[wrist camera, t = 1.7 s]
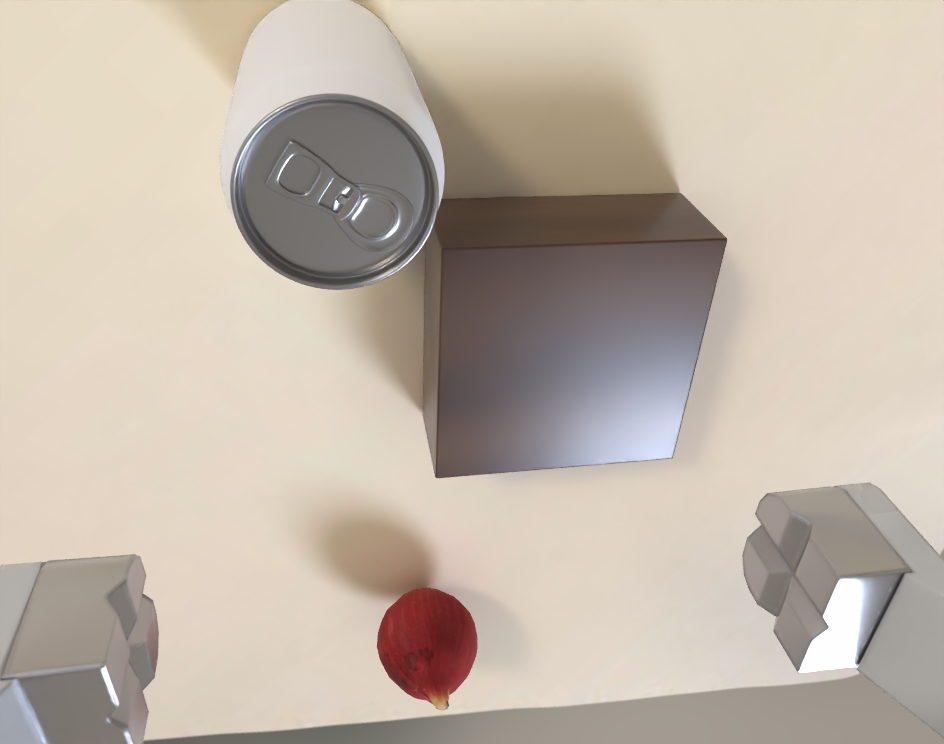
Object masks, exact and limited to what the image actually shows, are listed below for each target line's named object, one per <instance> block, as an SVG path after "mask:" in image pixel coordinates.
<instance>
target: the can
mask: <svg viewBox="0 0 944 744" xmlns="http://www.w3.org/2000/svg"><path fill="white" fill-rule="evenodd" d="M220 178H221V185H222V190H223V194H224V197H225V200H226V203H227V206H228V208H229V210H230V213H231V215H232V216H233V218H234V220H235V222H236V223H237V225H238V228H239V230H240V232H241V234H242V236H243V237H244V239H245V241H246V242H247V244H248V245H249V246H250V248H251V249H252V250H253V251H254V253H255V254H256V255H257V256H258V257H259V258H260V259H261V260H262V261H263V262H264V263H266V264H267V265H268V266H269V267H271V268H272V269H273V270H275V271H276V272H278V273H279V274H281V275H283V276H285V277H287V278H289V279H291V280H293V281H295V282H298V283H301V284H304V285H307V286H311V287H316V288H321V289H332V290H343V289H353V288H359V287H363V286H367V285H371V284H373V283H376V282H379V281H381V280H383V279H385V278H387V277H389V276H391V275H393V274H394V273H396V272H397V271H399V270H400V269H401V268H403V267H404V266H405V265H406V264H408V263H409V262H410V261H411V260H412V259H413V258H414V257H415V256H416V254H417V253H418V252H419V251H420V249H421V248H422V247H423V245H424V244H425V242H426V240H427V239H428V237H429V235H430V233H431V230H432V228H433V225H434V223H435V219H436V215H437V211H438V208H439V205H440V202H441V199H442V194H443V188H444V178H445V170H444V159H443V152H442V147H441V143H440V140H439V137H438V134H437V131H436V128H435V125H434V123H433V120H432V118H431V115H430V113H429V111H428V108H427V106H426V104H425V101H424V99H423V97H422V94H421V92H420V90H419V88H418V85H417V83H416V81H415V78H414V76H413V74H412V72H411V69H410V67H409V65H408V63H407V60H406V58H405V56H404V54H403V52H402V50H401V48H400V46H399V44H398V42H397V41H396V39H395V37H394V36H393V34H392V33H391V31H390V30H389V29H388V28H387V27H386V25H385V24H384V23H383V22H382V21H381V20H380V19H379V18H378V17H377V16H375V15H374V14H373V13H372V12H370V11H369V10H367V9H366V8H364V7H363V6H361V5H359V4H357V3H355V2H352V1H350V0H290V1H288V2H286V3H284V4H282V5H280V6H278V7H277V8H275V9H274V10H272V11H271V12H270V13H269V14H268V15H266V16H265V17H264V18H263V19H262V20H261V22H260V23H259V24H258V25H257V27H256V28H255V29H254V31H253V33H252V34H251V36H250V38H249V40H248V42H247V44H246V47H245V50H244V53H243V56H242V60H241V63H240V67H239V71H238V74H237V78H236V82H235V86H234V90H233V94H232V98H231V102H230V106H229V111H228V115H227V119H226V123H225V128H224V132H223V137H222V143H221V150H220Z"/></svg>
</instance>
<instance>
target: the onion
mask: <svg viewBox="0 0 944 744" xmlns="http://www.w3.org/2000/svg"><path fill="white" fill-rule="evenodd" d="M377 649H378V653H379V657H380V660H381V662H382V664H383V666H384V668H385V670H386V672H387V674H388V676H389V677H390V678H391V679H392V680H393V681H394V682H395V683H396V684H397V685H398V686H399V687H400V688H401V689H402V690H404V691H405V692H406V693H407V694H409V695H411V696H412V697H414V698H417V699H421V700H427V701H429V702H430V703H432V704H433V705H434V706H435V707H436V708H437V709H439V710H445V709H447V708H448V706H449V704H448V699H449V695H450V694H451V693H453V692H454V691H456V689H457V688H458V687H459V686H460V685H461V684H462V683H463V682H464V680H465V679H466V678H467V676H468V675H469V673H470V670H471V668H472V665H473V663H474V660H475V657H476V653H477V633H476V628H475V623H474V621H473V619H472V616H471V614H470V612H469V611H468V610H467V609H466V608H465V607H464V606H463V605H462V604H461V603H460V602H459V601H458V600H457V599H456V598H455V597H453V596H451V595H449V594H447V593H444V592H442V591H440V590H437V589H431V588H421V589H415V590H413V591H411V592H409V593H407V594H404V595H403V596H402V597H401V598H400V599H398V600H397V601H396V602H395V603H394V604H393V605H392V606H391V607H390V608H389V609H388V610H387V611H386V613H385V615H384V617H383V619H382V622H381V625H380V628H379V632H378V641H377Z"/></svg>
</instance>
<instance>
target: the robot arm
mask: <svg viewBox="0 0 944 744" xmlns="http://www.w3.org/2000/svg"><path fill="white" fill-rule="evenodd" d="M755 515H756V517H757V518H758V520H759V521H760V523H761V526H760V527H758V528H757V529H756V530H755V531H754V532H753V533H752V534H751V535H750V536H749V537H747V541H746V544H745V548H744V551H743V555H742V556H743V569H744V576H745V579H746V582H747V585H748V588H749V590H750V592H751V594H752V596H753V597H754V599H755V601H756V603H757V604H758V605H759V606H761V607H762V608H764V609H765V610H767V611H768V612H770V613H771V614H773V615H774V616H776V619H775V625H774V633H775V635H776V636H777V638H778V640H779V641H780V643H781V645H782V646H783V648H784V650H785V651H786V653H787V655H788V656H789V658H790V660H791V661H792V663H793V665H794V666H795V668H796V670H797V671H798V673H802V672H811V671H820V670H829V669H839V668H848V667H857V666H858V668H857V670H858V671H859V672H860V673H861V674H863V675H864V676H865V677H866V678H868V679H869V680H870V681H872V682H873V683H874V684H875V685H877V686H878V687H879V688H880V689H882V690H883V691H884V692H886V693H887V694H888V695H889V696H891V697H892V698H893V699H894V700H896V701H897V702H898V703H899V704H901V705H902V706H903V707H905V708H906V709H907V710H908V711H910V712H911V713H912V714H913V715H915V716H916V717H917V718H919V719H920V720H921V721H922V722H924V723H925V724H926V725H928V726H929V727H930V728H931V729H933V730H934V731H935V732H936V733H938V734H939V735H940V736H942V737H943V738H944V560H943V559H942V558H941V556H940V555H939V554H938V553H937V552H936V551H935V550H934V549H933V547H932V546H931V545H930V544H929V543H928V542H927V541H926V540H925V538H924V537H923V536H922V535H921V534H920V533H919V532H918V531H917V530H916V528H915V527H914V526H913V525H912V524H911V523H910V522H909V521H908V519H907V518H906V517H905V516H904V515H903V514H902V513H901V512H900V510H899V509H898V508H897V507H896V506H895V505H894V504H893V503H892V501H891V500H890V499H889V498H888V497H887V496H886V495H885V494H884V492H883V491H882V490H881V489H880V488H878V487H877V486H875V485H873V484H871V483H869V482H868V483H859V484H849V485H840V486H834V487H821V488H811V489H802V490H792V491H783V492H774V493H767V494H766V495H765V496H764V497H763V498H762V499H761V500H760V502H759V505H758V507H757V510H756V513H755ZM145 579H146V573H145V570H144V567H143V564H142V561H141V557H140V556H137V555H135V554H134V555H121V556H107V557H93V558H79V559H66V560H52V561H47V562H36V563H22V564H8V565H1V566H0V744H143V739H144V734H145V728H146V723H147V717H148V712H149V711H148V708H147V704H146V701H145V698H144V694H143V690H144V689H145V688H146V686H147V685H148V684H149V683H150V682H151V681H152V680H153V679H154V678H155V671H156V665H157V659H158V636H159V631H158V622H157V614H156V610H155V606H154V602H153V600H152V599H150V598H149V597H147V596H146V595H144V594H143V589H144V584H145Z"/></svg>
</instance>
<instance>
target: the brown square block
mask: <svg viewBox="0 0 944 744" xmlns="http://www.w3.org/2000/svg"><path fill="white" fill-rule="evenodd" d="M726 243H727V238H726V237H725V236H724V235H723V234H722V233H721V232H720V231H719V230H718V229H717V228H716V227H715V226H714V225H713V224H712V223H711V222H710V221H709V220H708V219H707V218H706V217H705V216H704V215H703V214H702V213H701V212H700V211H699V210H698V209H697V208H696V207H695V206H694V205H693V204H691V203H690V202H689V201H688V200H687V199H686V198H685V197H684V196H683V195H682V194H681V193H674V194H634V195H593V196H553V197H513V198H473V199H441V202H440V205H439V208H438V211H437V215H436V219H435V223H434V225H433V228H432V230H431V233H430V235H429V237H428V239H427V240H426V242H425V274H424V351H423V419H424V424H425V429H426V434H427V439H428V443H429V448H430V453H431V458H432V463H433V468H434V473H435V477H436V478H446V477H458V476H469V475H481V474H493V473H505V472H516V471H528V470H540V469H552V468H564V467H575V466H587V465H599V464H611V463H622V462H634V461H646V460H658V459H669V458H673V455H674V451H675V447H676V443H677V439H678V435H679V431H680V427H681V423H682V419H683V415H684V411H685V407H686V403H687V399H688V395H689V391H690V387H691V383H692V379H693V375H694V371H695V367H696V363H697V359H698V355H699V351H700V347H701V343H702V339H703V335H704V331H705V327H706V323H707V319H708V315H709V311H710V307H711V303H712V299H713V295H714V291H715V287H716V283H717V279H718V275H719V271H720V267H721V263H722V259H723V255H724V251H725V247H726Z"/></svg>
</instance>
